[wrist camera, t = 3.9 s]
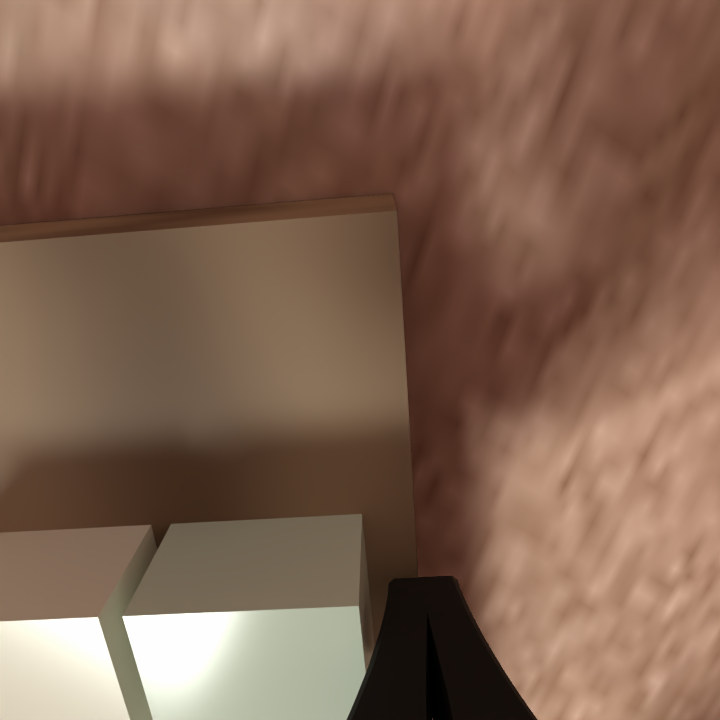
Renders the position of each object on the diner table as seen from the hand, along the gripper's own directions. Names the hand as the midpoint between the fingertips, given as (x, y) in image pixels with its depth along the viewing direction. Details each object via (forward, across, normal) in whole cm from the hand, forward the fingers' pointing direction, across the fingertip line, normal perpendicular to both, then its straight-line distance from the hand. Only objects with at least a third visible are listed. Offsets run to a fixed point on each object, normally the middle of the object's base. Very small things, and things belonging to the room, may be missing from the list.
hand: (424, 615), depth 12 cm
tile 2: (+1, +8, 0) cm, 8 cm away
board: (+4, +5, 0) cm, 6 cm away
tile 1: (+1, +3, 0) cm, 3 cm away
